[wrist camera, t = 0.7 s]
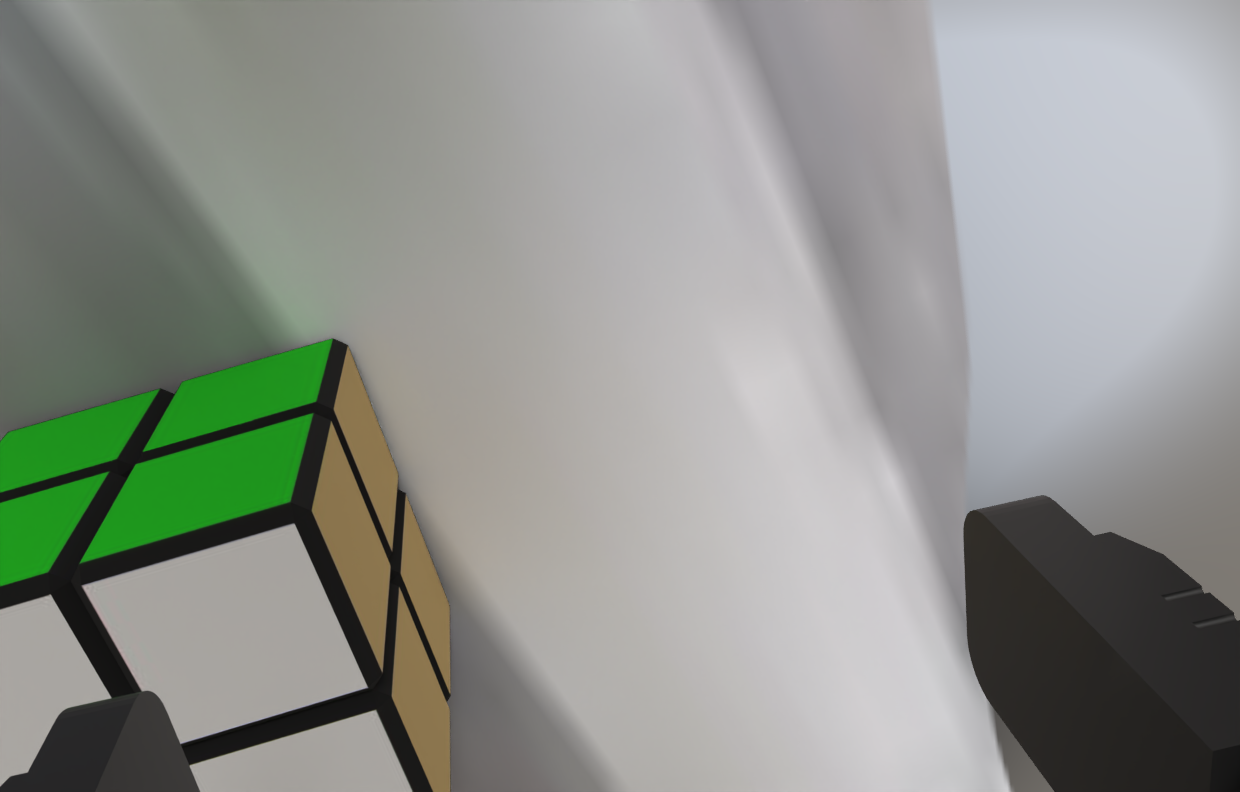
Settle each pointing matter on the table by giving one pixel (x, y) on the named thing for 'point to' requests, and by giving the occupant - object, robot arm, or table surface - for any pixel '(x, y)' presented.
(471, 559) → the table surface
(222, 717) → the puzzle cube
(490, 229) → the table surface
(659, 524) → the table surface
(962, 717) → the table surface
